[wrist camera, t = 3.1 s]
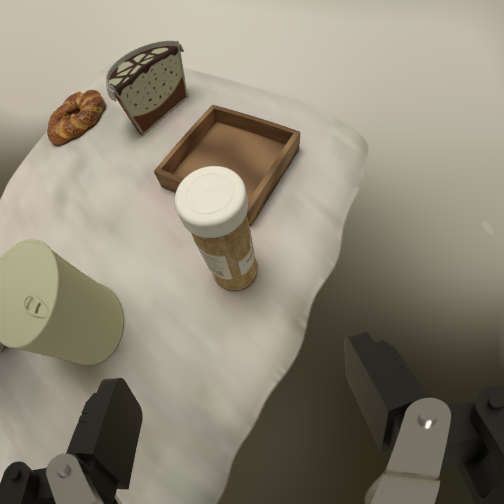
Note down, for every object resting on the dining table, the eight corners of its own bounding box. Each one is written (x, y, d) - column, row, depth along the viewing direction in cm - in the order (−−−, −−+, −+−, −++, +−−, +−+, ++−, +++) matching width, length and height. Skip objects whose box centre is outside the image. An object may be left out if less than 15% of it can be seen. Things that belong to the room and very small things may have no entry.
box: (250, 226, 33) (248, 211, 30) (161, 186, 36) (153, 171, 33) (299, 148, 37) (300, 131, 34) (215, 121, 40) (212, 104, 37)
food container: (168, 83, 45) (153, 35, 36) (194, 92, 43) (181, 39, 34) (112, 130, 41) (86, 81, 32) (135, 142, 40) (109, 89, 31)
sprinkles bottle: (266, 276, 31) (259, 201, 18) (225, 299, 30) (190, 238, 18) (243, 240, 32) (224, 152, 20) (204, 261, 32) (162, 184, 19)
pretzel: (71, 154, 41) (60, 139, 37) (41, 141, 44) (31, 127, 40) (120, 103, 45) (112, 87, 41) (85, 95, 47) (77, 82, 44)
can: (103, 381, 27) (25, 370, 16) (46, 341, 29) (-29, 314, 18) (137, 302, 30) (74, 256, 20) (77, 271, 32) (12, 223, 21)
